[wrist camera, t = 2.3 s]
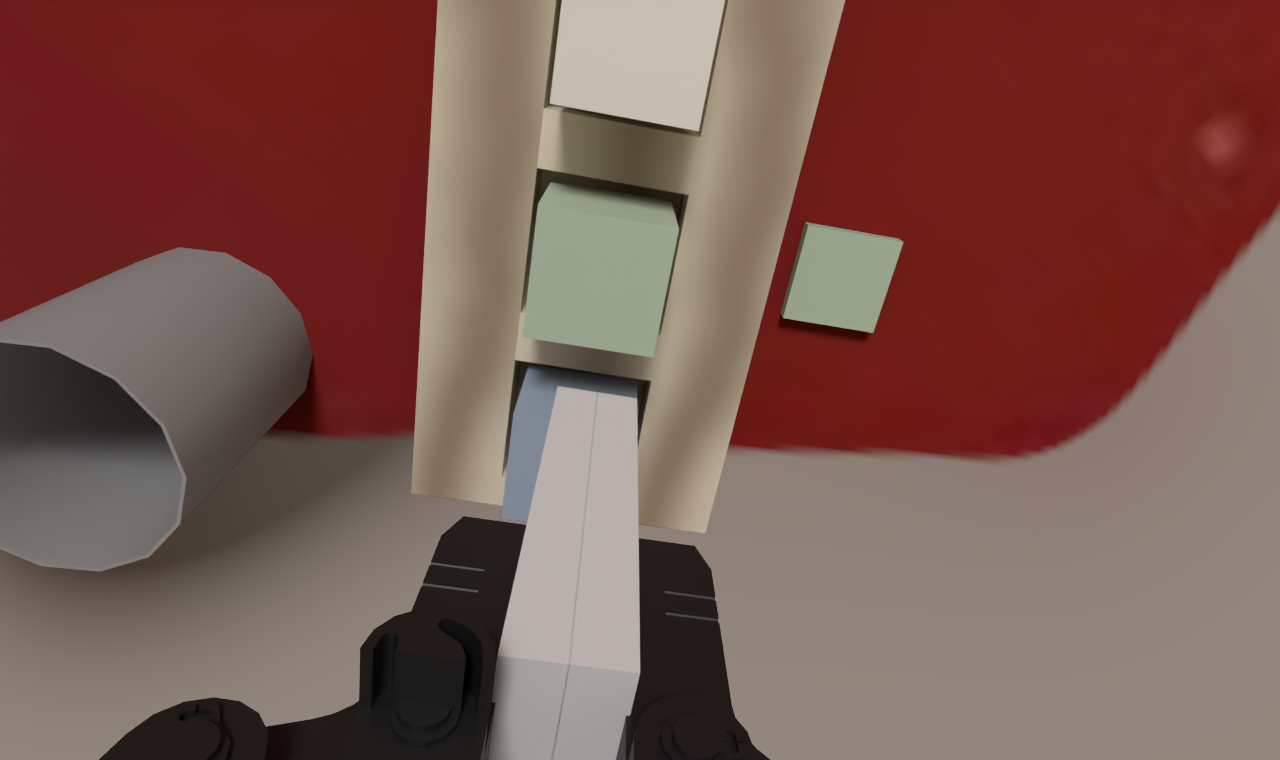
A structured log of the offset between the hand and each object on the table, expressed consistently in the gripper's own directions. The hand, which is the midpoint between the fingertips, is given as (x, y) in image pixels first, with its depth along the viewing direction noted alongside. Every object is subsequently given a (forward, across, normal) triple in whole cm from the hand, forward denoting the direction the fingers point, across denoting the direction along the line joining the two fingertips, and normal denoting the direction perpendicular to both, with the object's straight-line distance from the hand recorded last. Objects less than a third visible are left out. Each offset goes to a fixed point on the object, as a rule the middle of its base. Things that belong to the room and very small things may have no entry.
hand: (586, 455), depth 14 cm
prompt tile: (+18, +10, 0) cm, 20 cm away
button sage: (+15, 0, 0) cm, 15 cm away
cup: (+18, -16, -7) cm, 25 cm away
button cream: (+15, 0, +8) cm, 17 cm away
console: (+17, 0, 0) cm, 17 cm away
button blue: (+15, 0, -7) cm, 17 cm away
